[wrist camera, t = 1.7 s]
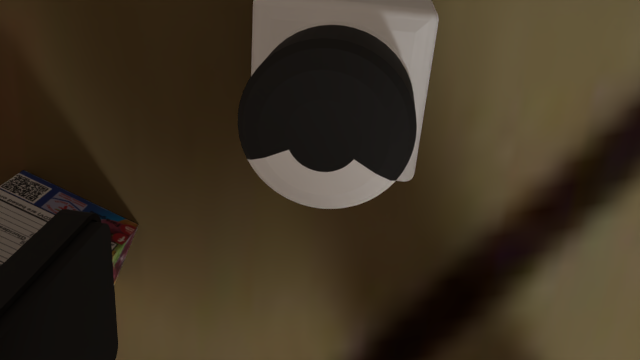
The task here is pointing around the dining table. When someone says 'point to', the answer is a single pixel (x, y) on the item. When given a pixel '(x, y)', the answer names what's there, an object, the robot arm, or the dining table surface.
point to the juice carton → (51, 215)
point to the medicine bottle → (336, 96)
